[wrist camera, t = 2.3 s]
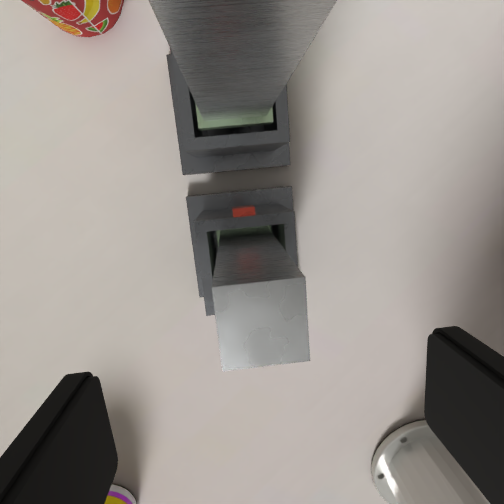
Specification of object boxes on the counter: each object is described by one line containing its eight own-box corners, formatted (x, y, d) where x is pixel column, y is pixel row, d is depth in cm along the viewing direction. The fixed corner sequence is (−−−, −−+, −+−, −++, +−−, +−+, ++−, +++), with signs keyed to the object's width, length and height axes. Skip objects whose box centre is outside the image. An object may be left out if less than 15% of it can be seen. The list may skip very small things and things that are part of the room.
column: (266, 216, 31) (314, 267, 14) (270, 264, 32) (319, 367, 15) (216, 221, 31) (201, 279, 14) (222, 270, 32) (214, 380, 15)
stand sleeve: (289, 186, 32) (312, 190, 23) (296, 283, 34) (318, 319, 26) (187, 196, 32) (171, 203, 23) (200, 293, 34) (190, 334, 25)
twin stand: (280, 50, 29) (541, -592, 5) (288, 165, 32) (491, 125, 7) (168, 58, 29) (-171, -601, 4) (184, 175, 31) (19, 168, 7)
